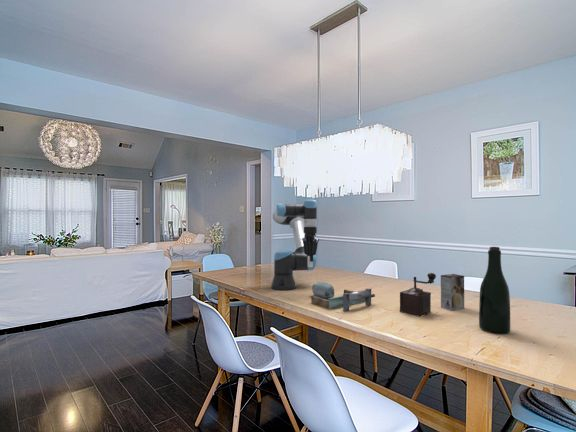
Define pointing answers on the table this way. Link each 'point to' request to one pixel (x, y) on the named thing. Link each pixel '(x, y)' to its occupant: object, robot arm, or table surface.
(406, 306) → the manual coffee grinder
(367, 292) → the grey clamp
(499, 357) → the table surface
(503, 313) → the dark green wine bottle
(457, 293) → the coffee box
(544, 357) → the table surface
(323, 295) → the grey rounded barrel
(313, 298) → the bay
